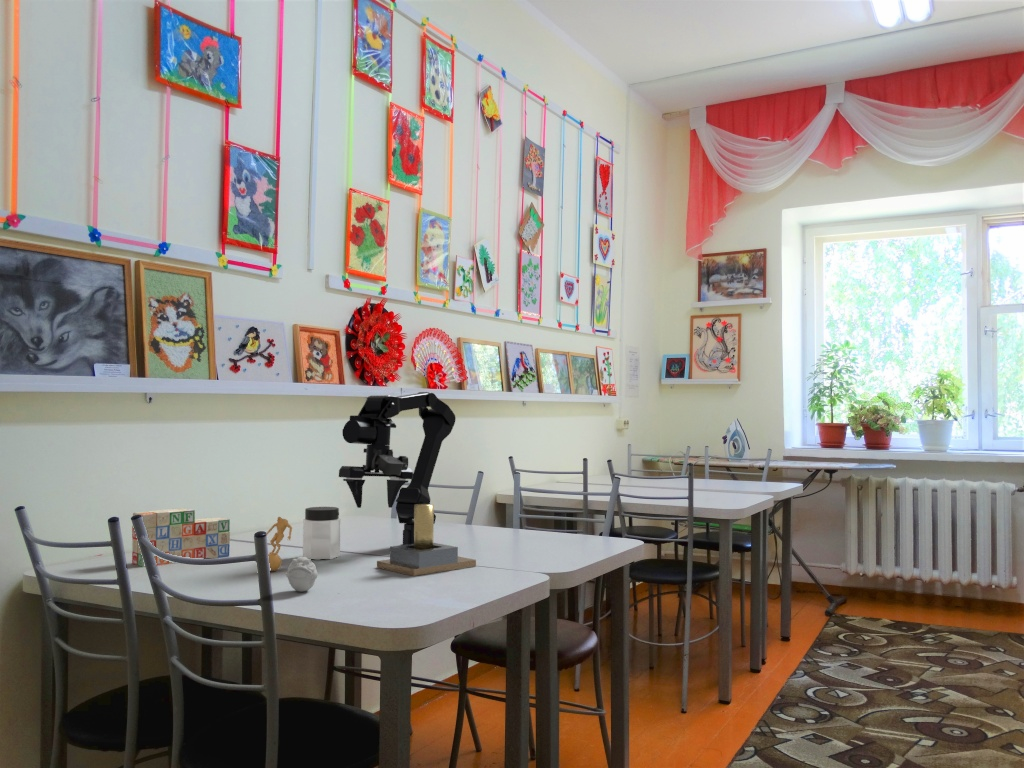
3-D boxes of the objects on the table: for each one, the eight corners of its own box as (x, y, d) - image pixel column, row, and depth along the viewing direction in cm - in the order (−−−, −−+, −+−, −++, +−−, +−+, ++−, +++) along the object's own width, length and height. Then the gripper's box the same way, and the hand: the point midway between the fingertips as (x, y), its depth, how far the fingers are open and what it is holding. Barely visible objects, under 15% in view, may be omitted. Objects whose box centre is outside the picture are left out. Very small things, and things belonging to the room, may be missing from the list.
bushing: (419, 560, 194) (419, 503, 195) (436, 561, 193) (436, 504, 194) (410, 563, 190) (410, 505, 191) (428, 564, 189) (428, 506, 189)
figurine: (252, 570, 188) (253, 517, 189) (274, 566, 193) (275, 514, 194) (277, 574, 184) (278, 519, 184) (298, 570, 189) (299, 517, 189)
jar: (345, 557, 206) (345, 508, 206) (314, 561, 201) (315, 511, 201) (328, 553, 213) (328, 505, 213) (298, 556, 208) (298, 507, 208)
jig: (438, 558, 205) (438, 538, 205) (475, 566, 195) (476, 544, 195) (376, 567, 193) (377, 545, 193) (413, 576, 183) (413, 553, 183)
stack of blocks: (218, 553, 212) (218, 504, 212) (229, 556, 207) (230, 506, 208) (131, 564, 196) (132, 511, 197) (142, 567, 192) (143, 513, 193)
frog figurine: (282, 595, 163) (282, 559, 163) (290, 588, 170) (291, 553, 170) (313, 595, 163) (314, 559, 163) (320, 588, 170) (321, 553, 170)
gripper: (364, 443, 198) (360, 510, 197) (427, 447, 211) (424, 509, 209) (339, 443, 207) (335, 507, 205) (401, 446, 219) (398, 506, 218)
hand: (374, 507), depth 209 cm, fingers open, 9 cm apart
